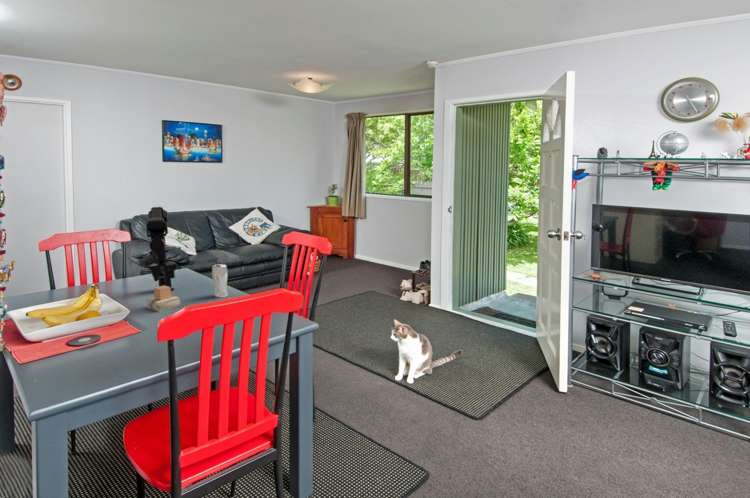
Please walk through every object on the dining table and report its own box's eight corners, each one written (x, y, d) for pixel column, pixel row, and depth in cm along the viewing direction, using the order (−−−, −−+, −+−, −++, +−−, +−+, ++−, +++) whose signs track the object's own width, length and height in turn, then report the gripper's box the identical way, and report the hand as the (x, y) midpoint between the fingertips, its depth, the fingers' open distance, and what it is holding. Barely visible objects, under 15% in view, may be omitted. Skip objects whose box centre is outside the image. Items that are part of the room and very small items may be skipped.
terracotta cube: (154, 298, 214) (153, 287, 213) (165, 296, 218) (164, 285, 217) (160, 300, 211) (159, 289, 210) (171, 297, 215) (170, 287, 214)
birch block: (147, 307, 214) (146, 298, 213) (168, 302, 222) (167, 293, 221) (159, 311, 208) (158, 303, 207) (180, 306, 216) (179, 297, 215)
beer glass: (224, 298, 228) (222, 267, 225) (211, 297, 229) (208, 266, 226) (231, 294, 234) (229, 264, 231) (218, 293, 236) (216, 263, 233)
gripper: (129, 248, 209) (133, 283, 212) (151, 253, 198) (155, 290, 201) (154, 244, 218) (157, 278, 220) (176, 249, 206) (179, 284, 209)
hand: (161, 282), depth 213 cm, fingers open, 9 cm apart
